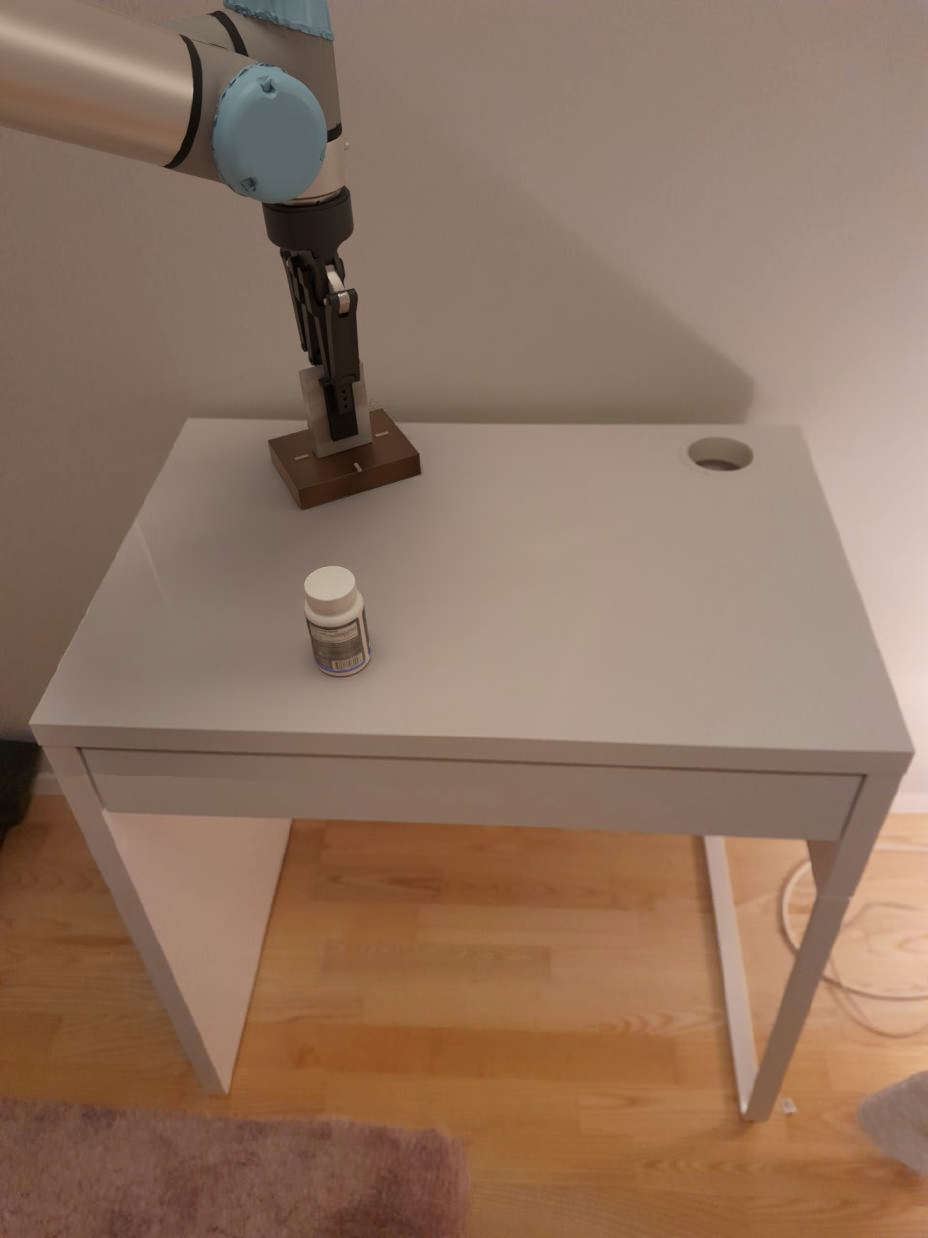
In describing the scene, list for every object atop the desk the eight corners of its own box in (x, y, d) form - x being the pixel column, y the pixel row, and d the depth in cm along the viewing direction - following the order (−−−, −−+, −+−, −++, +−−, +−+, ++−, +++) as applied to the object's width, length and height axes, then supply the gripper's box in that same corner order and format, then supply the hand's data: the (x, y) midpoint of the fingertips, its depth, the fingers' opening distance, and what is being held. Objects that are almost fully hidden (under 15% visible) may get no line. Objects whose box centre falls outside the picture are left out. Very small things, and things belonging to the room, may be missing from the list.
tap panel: (302, 510, 93) (297, 488, 91) (271, 459, 100) (266, 438, 98) (421, 474, 97) (420, 452, 95) (384, 427, 104) (381, 405, 102)
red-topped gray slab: (318, 458, 95) (304, 376, 89) (311, 450, 96) (297, 368, 90) (372, 441, 97) (362, 360, 91) (365, 433, 98) (355, 352, 92)
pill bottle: (329, 632, 80) (315, 556, 75) (380, 644, 79) (369, 568, 73) (305, 670, 77) (288, 595, 71) (357, 683, 76) (344, 608, 70)
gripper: (381, 207, 75) (404, 455, 92) (314, 156, 85) (346, 388, 101) (293, 227, 73) (333, 478, 89) (234, 172, 83) (280, 407, 99)
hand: (340, 429), depth 95 cm, fingers closed on red-topped gray slab, 2 cm apart
